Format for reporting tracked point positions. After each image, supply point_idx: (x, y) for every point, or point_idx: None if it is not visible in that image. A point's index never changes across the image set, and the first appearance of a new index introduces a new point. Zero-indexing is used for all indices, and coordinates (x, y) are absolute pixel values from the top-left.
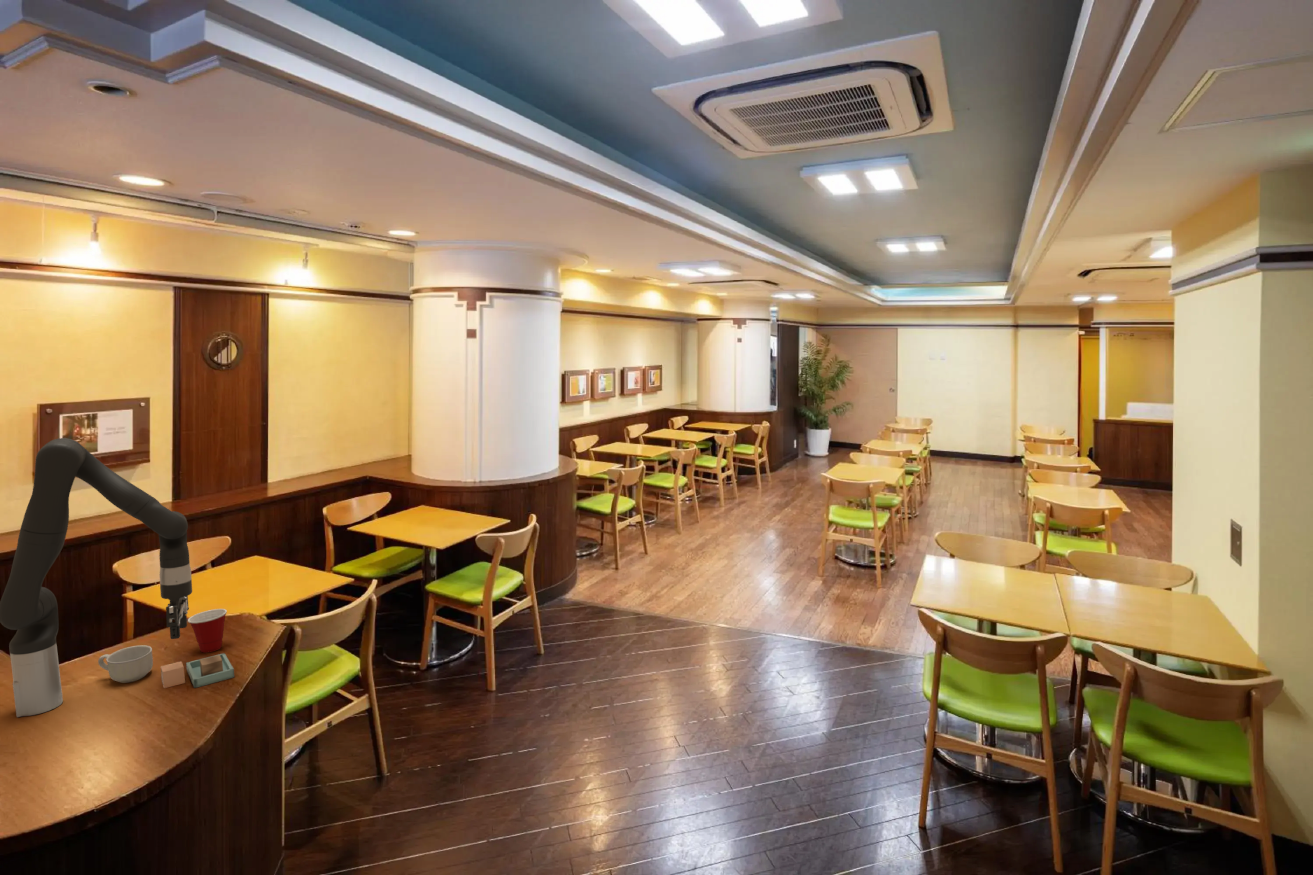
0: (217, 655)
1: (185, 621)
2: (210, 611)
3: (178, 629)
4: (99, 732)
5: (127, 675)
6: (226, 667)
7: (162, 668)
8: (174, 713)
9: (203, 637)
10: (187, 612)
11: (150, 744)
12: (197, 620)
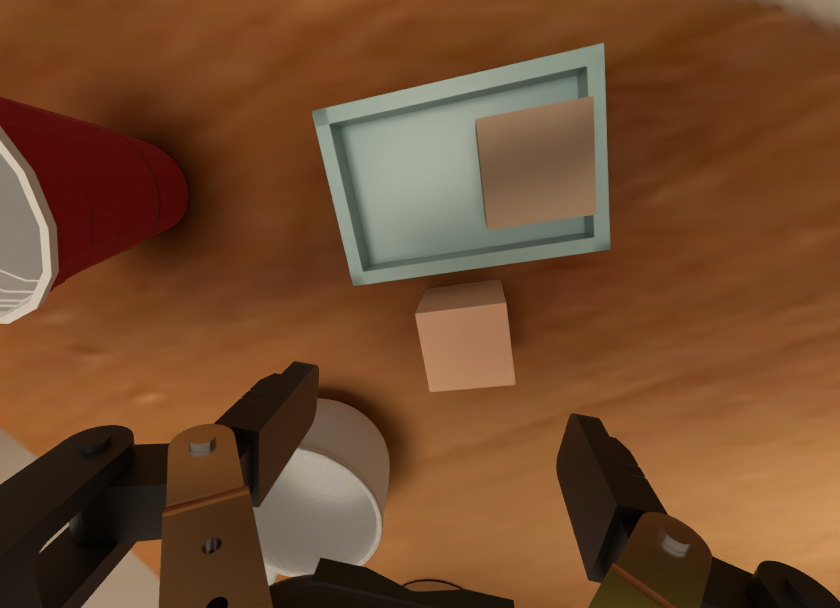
0: (480, 131)
1: (293, 397)
2: None
3: (628, 480)
4: (778, 510)
5: (389, 473)
6: (454, 102)
7: (464, 385)
8: (836, 307)
9: (134, 221)
10: (203, 433)
11: None
12: None
